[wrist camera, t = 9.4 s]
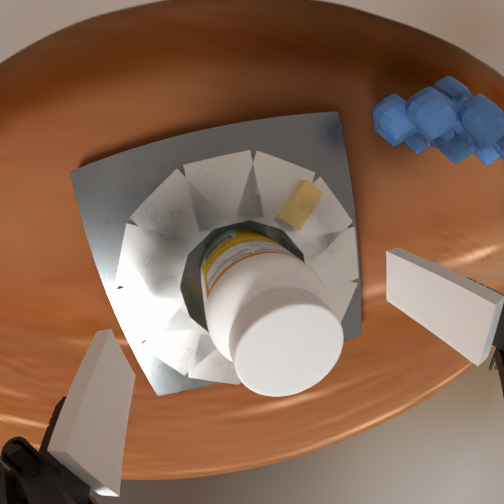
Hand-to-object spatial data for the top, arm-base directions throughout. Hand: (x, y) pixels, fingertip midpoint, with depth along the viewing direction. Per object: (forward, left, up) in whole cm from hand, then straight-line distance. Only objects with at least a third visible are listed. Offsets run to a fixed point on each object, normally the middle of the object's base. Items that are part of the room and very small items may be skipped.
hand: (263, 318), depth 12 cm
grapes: (+16, +8, -8) cm, 20 cm away
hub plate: (0, 0, -8) cm, 8 cm away
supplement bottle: (0, 0, -7) cm, 7 cm away
